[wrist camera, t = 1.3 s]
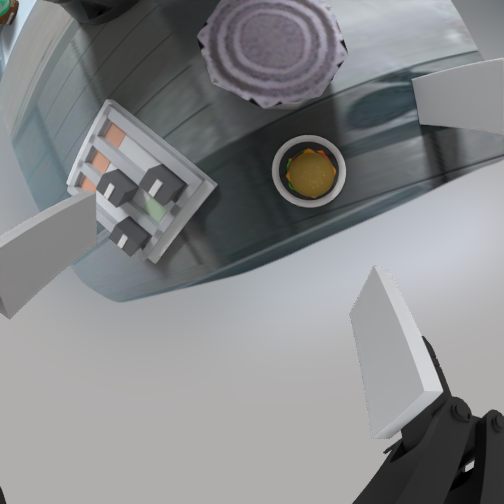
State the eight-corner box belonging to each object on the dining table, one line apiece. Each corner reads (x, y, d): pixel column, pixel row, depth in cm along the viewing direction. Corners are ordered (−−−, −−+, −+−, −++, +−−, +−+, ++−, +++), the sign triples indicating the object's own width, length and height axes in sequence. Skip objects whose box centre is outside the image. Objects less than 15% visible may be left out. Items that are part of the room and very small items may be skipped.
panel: (72, 180, 36) (61, 185, 34) (112, 99, 30) (101, 99, 27) (159, 259, 40) (151, 268, 38) (218, 184, 34) (212, 189, 31)
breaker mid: (112, 181, 33) (94, 189, 30) (120, 167, 32) (101, 174, 29) (132, 198, 34) (115, 208, 30) (140, 185, 33) (123, 194, 29)
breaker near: (153, 177, 32) (137, 185, 29) (163, 163, 31) (147, 169, 28) (176, 197, 33) (162, 207, 30) (187, 182, 32) (173, 191, 29)
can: (306, 18, 23) (312, -28, 12) (341, 98, 27) (368, 84, 16) (217, 46, 26) (181, 13, 15) (249, 125, 30) (227, 125, 19)
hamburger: (258, 212, 35) (252, 228, 31) (261, 119, 30) (255, 118, 25) (350, 220, 34) (359, 237, 29) (360, 128, 29) (372, 129, 24)
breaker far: (124, 226, 36) (108, 238, 32) (130, 214, 35) (114, 225, 31) (144, 244, 37) (129, 257, 33) (151, 232, 36) (137, 245, 32)
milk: (419, 124, 26) (551, 149, 7) (410, 78, 24) (535, 52, 4) (455, 124, 25) (584, 155, 6) (448, 81, 23) (573, 74, 3)
